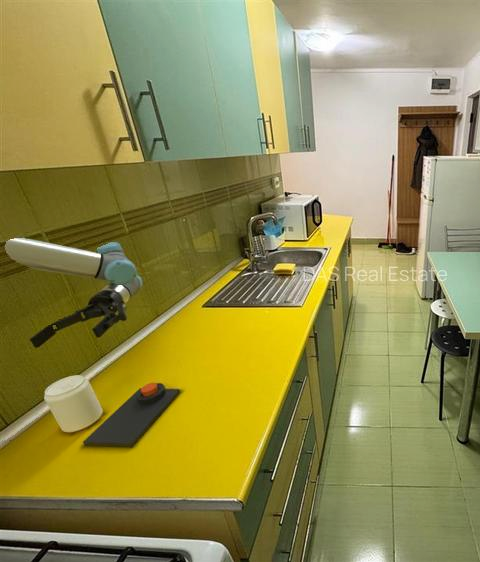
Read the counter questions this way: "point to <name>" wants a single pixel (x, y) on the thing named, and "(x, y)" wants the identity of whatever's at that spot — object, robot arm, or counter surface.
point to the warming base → (132, 418)
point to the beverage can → (73, 403)
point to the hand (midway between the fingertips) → (65, 338)
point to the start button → (149, 389)
